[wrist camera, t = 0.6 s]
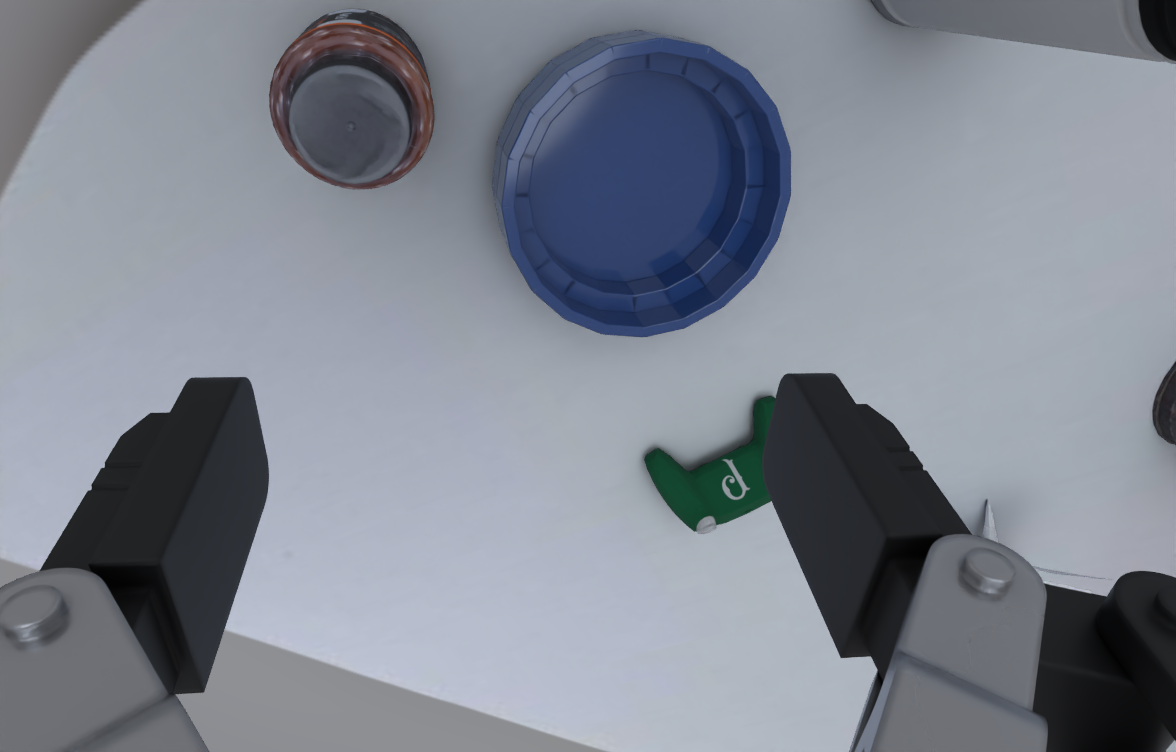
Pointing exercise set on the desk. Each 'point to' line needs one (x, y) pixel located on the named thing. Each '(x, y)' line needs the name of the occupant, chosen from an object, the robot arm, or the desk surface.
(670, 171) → the bowl
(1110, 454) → the desk surface
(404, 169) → the supplement bottle
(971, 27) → the travel mug
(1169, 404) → the lantern
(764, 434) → the gaming controller
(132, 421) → the desk surface
